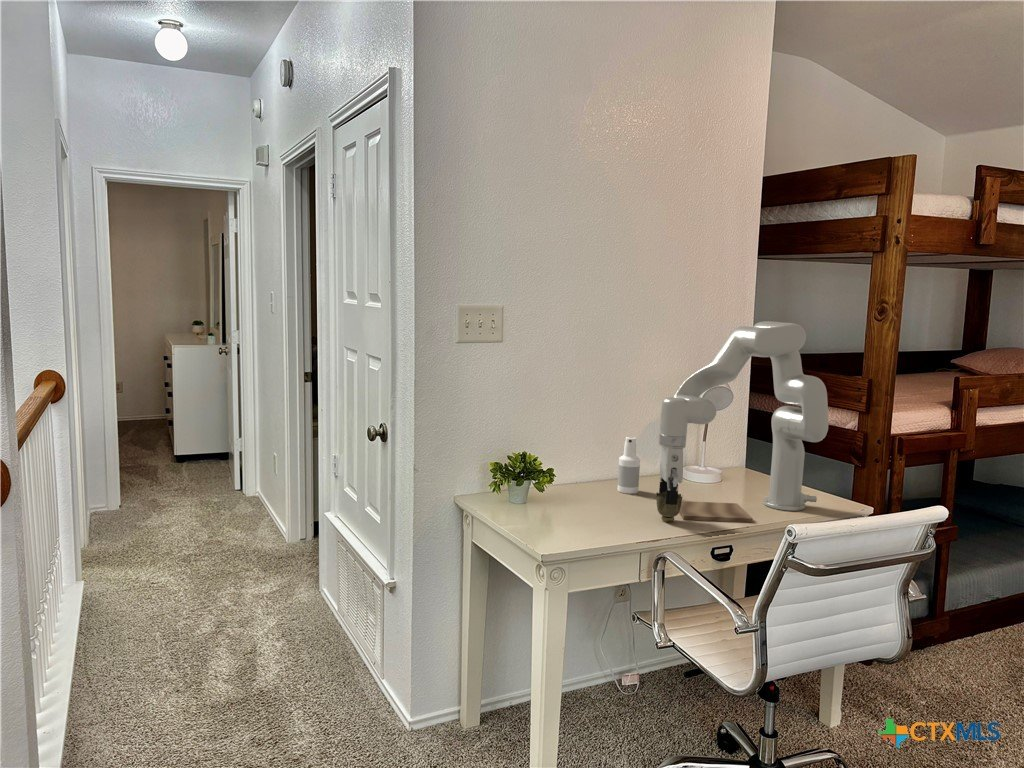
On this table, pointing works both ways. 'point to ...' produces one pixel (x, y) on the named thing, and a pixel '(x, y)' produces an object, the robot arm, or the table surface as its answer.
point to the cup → (667, 507)
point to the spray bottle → (629, 468)
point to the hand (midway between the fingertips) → (667, 499)
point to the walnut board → (713, 512)
